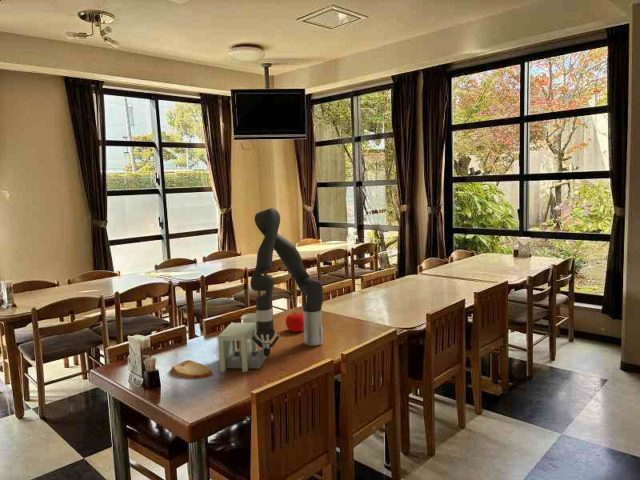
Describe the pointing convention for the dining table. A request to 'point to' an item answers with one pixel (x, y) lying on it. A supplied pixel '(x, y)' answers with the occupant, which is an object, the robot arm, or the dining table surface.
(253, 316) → the pitcher
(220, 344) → the miniature white stool
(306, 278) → the robot arm
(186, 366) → the slice of bread
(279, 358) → the dining table surface
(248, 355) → the cream rounded cylinder
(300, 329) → the tomato
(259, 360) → the tray
